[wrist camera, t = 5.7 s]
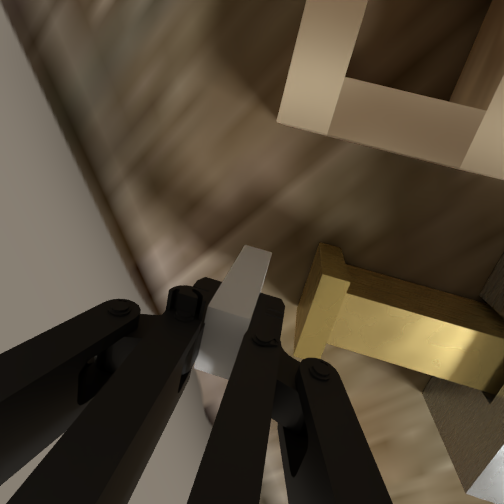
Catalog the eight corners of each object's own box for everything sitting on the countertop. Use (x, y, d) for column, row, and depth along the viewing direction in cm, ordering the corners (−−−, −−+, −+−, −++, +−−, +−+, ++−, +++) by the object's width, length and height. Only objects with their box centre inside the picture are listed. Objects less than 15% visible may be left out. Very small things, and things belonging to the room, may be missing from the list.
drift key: (319, 242, 17) (322, 274, 13) (514, 296, 17) (581, 348, 13) (296, 309, 19) (293, 355, 15) (473, 361, 18) (520, 426, 14)
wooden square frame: (344, -113, 13) (359, -216, 9) (579, -67, 12) (700, -158, 8) (284, 125, 16) (276, 121, 12) (465, 171, 15) (514, 182, 12)
